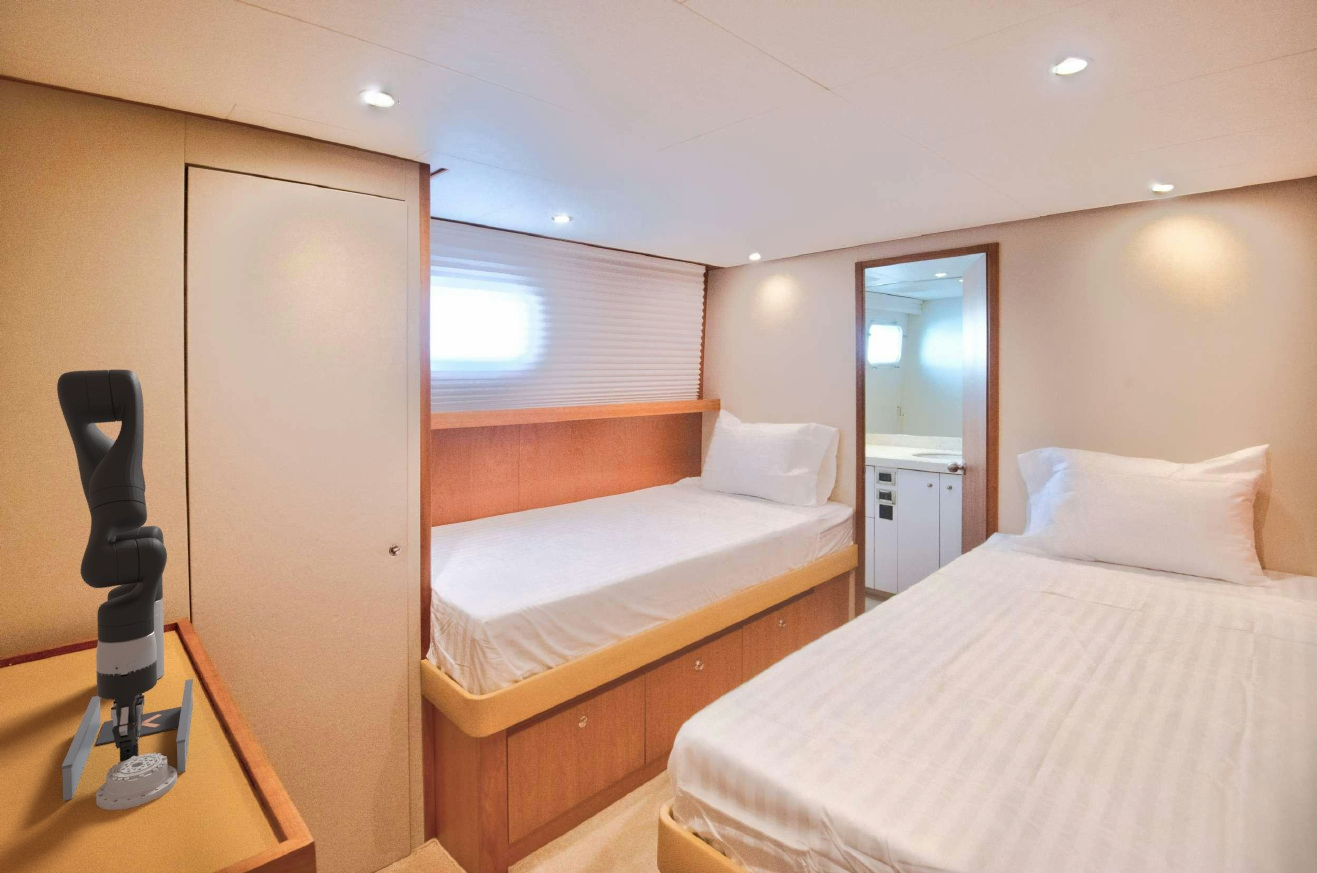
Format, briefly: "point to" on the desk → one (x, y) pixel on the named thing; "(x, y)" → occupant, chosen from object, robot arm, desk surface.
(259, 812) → the desk surface
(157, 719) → the pad
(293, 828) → the desk surface
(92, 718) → the plastic channel
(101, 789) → the mechanical component
